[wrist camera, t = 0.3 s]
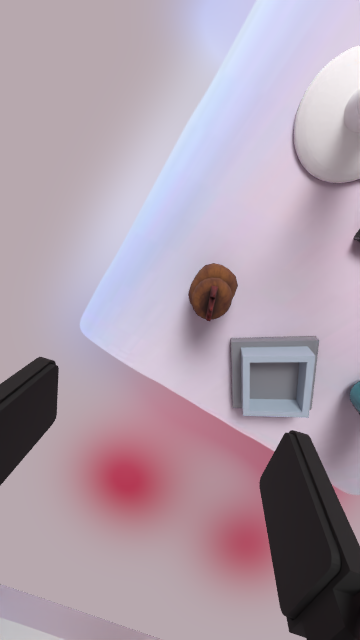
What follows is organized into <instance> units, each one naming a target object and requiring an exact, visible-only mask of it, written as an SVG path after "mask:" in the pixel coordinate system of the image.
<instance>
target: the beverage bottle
mask: <svg viewBox="0 0 360 640" xmlns="http://www.w3.org/2000/svg"><path fill="white" fill-rule="evenodd" d="M350 400H351V402H352V404H353V406H355V408H356V410H358V411H359V414H360V381H359V382H358V383H356V384H355V385H354V386H353V388H352V389H351V392H350Z"/></svg>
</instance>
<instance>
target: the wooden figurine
mask: <svg viewBox="0 0 360 640" xmlns="http://www.w3.org/2000/svg"><path fill="white" fill-rule="evenodd" d="M237 286H238V285H237V280H236V276H235V275H234V274H233V273H232V272H231V271H230V270H229V269H227V268H226V267H224V266H223V265H219V264H214V263H213V264H209V265H205V266H204V267H203V268H202V269H201V270H200V271H199V272H198V274H197V275H196V276H195V278H194V280H193V282H192V284H191V286H190V290H189V299H190V303H191V304H192V306H193V309H194V311H195V312H196V314H197V315H198V316H200V317H202V318H204V319H206V320H207V321H210V320H211V319H216V318H219V317H220V316H222V315H224V314H225V313H226V312H227V311H228V309H229V307H230V305H231V301H232V298H233V297H234V295H235V292H236V289H237Z"/></svg>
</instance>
